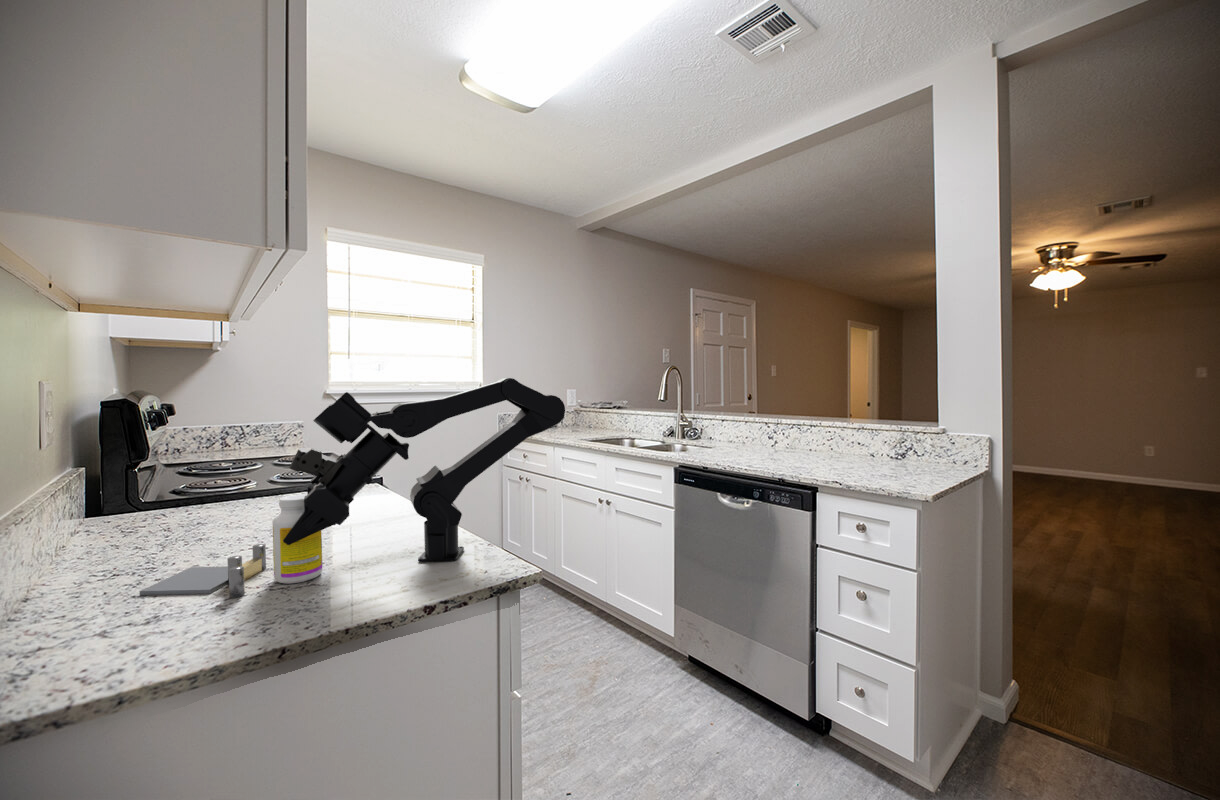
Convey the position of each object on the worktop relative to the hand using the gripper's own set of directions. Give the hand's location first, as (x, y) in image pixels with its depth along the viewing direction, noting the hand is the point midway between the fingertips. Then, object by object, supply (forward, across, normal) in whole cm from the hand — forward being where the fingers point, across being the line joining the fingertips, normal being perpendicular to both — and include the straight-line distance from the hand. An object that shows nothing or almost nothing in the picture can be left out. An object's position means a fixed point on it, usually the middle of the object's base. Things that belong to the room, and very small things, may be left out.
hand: (287, 537), depth 82 cm
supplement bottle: (+4, 0, +6) cm, 7 cm away
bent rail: (+8, -1, +1) cm, 9 cm away
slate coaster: (+13, -5, -4) cm, 15 cm away
